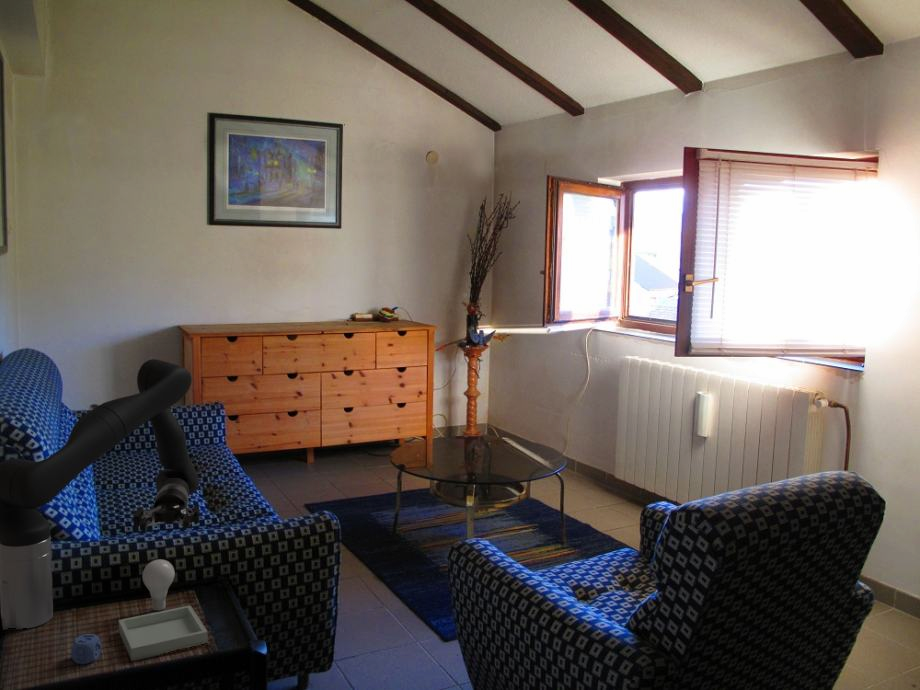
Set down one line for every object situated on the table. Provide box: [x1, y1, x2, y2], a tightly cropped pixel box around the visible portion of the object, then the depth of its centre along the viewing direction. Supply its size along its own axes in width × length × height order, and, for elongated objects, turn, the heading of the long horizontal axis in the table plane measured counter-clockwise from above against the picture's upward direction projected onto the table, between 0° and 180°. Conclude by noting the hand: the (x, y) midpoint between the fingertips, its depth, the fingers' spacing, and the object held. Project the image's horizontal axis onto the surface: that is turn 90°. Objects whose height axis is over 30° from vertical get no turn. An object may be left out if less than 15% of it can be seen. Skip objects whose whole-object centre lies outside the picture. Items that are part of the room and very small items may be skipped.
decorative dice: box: [70, 633, 102, 665], centre depth 154 cm, size 4×4×4 cm
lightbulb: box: [141, 558, 176, 612], centre depth 173 cm, size 6×6×11 cm
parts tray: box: [118, 605, 209, 662], centre depth 162 cm, size 14×13×2 cm
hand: (164, 527), depth 183 cm, fingers open, 8 cm apart
